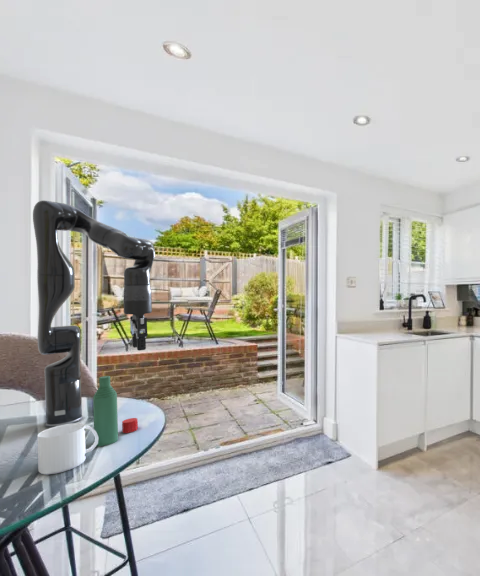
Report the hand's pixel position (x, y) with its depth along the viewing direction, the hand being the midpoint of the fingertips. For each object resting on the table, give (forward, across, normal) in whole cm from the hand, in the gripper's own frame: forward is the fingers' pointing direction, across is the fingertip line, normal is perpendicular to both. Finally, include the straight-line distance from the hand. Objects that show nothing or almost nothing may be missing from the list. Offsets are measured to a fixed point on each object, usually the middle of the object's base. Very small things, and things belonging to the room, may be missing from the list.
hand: (139, 348), depth 115 cm
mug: (+26, -14, +18) cm, 35 cm away
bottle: (+26, -5, +9) cm, 28 cm away
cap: (+26, 0, +3) cm, 26 cm away
